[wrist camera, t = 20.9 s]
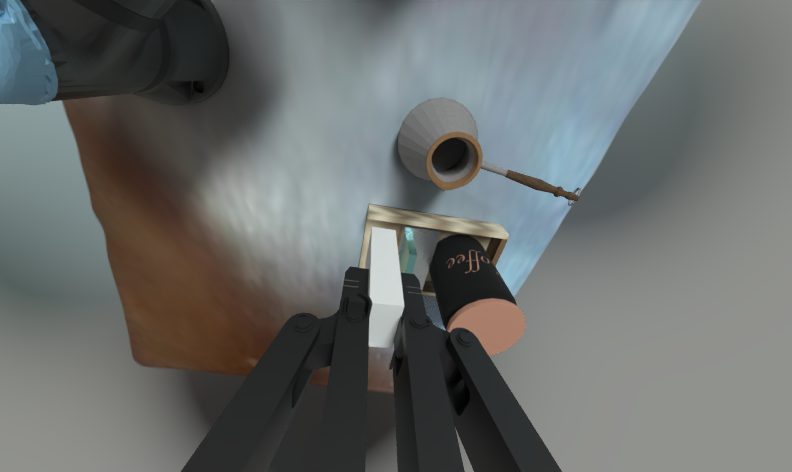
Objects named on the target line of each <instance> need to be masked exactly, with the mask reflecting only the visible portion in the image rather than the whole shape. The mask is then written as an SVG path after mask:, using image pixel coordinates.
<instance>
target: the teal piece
mask: <svg viewBox="0 0 792 472" xmlns="http://www.w3.org/2000/svg"><path fill="white" fill-rule="evenodd" d="M440 233H441V232H440V229H433V228H426V227H419V226H413V225H406V224H402V227H401V231H400V236H399V240H398V244H397V247H398V255H399V264H400V272H401V273H409V274H415V276H416V277H417V278H418V280H419V282H420V287H421V290H422V289H423V286H424V283H425V280H426V277H427V274H428V271H429V267H430V264H431V261H432V258H433V255H434V252H435V249H436V246H437V242H438V239H439V236H440Z"/></svg>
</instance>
